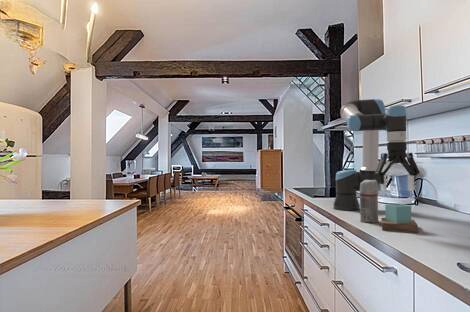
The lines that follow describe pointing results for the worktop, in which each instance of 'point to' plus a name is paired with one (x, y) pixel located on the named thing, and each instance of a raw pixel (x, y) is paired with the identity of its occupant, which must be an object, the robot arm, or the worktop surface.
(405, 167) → the robot arm
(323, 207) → the worktop surface
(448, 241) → the worktop surface
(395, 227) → the brown square board
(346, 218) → the worktop surface
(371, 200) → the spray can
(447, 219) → the worktop surface
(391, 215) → the teal shadow box frame
